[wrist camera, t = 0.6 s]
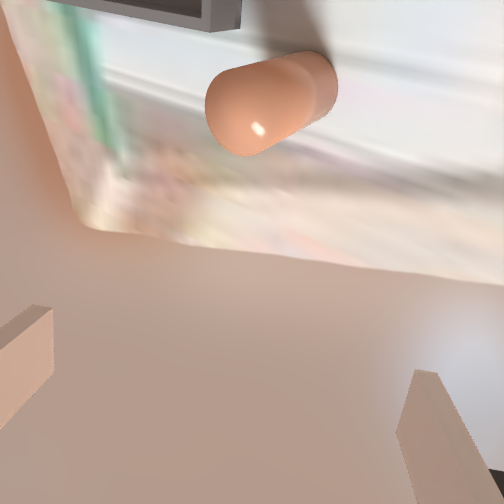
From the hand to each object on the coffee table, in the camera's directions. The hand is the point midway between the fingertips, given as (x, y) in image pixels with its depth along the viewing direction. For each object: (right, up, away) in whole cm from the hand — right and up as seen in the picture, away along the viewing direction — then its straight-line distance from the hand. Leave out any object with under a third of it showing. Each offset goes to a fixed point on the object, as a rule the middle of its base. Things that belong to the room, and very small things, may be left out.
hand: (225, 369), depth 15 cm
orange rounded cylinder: (+6, +20, +26) cm, 34 cm away
